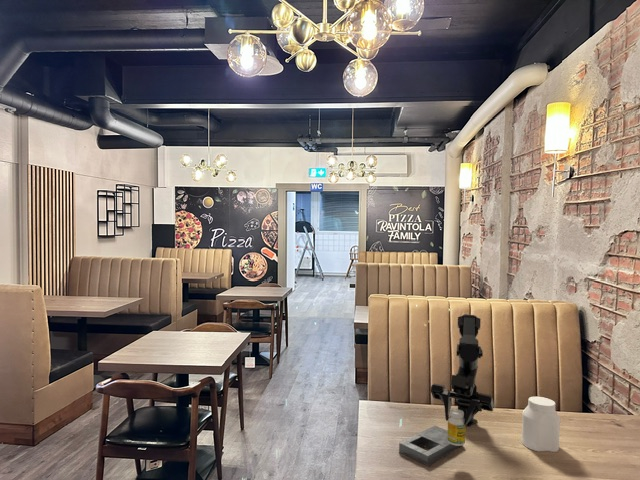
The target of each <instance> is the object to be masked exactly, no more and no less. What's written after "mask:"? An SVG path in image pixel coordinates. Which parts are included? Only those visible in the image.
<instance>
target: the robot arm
mask: <svg viewBox="0 0 640 480" xmlns="http://www.w3.org/2000/svg"><path fill="white" fill-rule="evenodd" d="M481 320H482V319H481V318H480V317H478V316H477V315H475V314H467V313H466V314H465V313H464V314H462V315H459V316H458V317H457V329H458V330H459V335H460V338H459V340H458V341H459V343H457V344H456V356H457V357H458V364H459V366H458V368H457V369H458V370H457V373H456V375H455V374H451V378H450V386H451V389H452V390H449V389H447V388H446V387H445V385H444V384H438V383H433V384H432V385H431V386H430V389H429V390H430V393H431V396H432V398H433V399H435V400H439V401H441V403H442V404H443V406H444V414H445V415H444V416H445V421H446V422H448V418H449V417H450V411H451V410H452V409H451V408H452V402H451V399H454V403H453V405H454V406H455V407H456V406H457V409H458V410H462V411H463V412H464V417H463V418H464V419H465V422H464V425H465V426H466V427H467V426H468V427H470V426H472V425H474V424H476V423H478V419H476V418H475V415H477V414H478V413H479V412H482V411H483V410H484V411H487V412H488V411H489V412H493V411H494V405H495V402H494V398H493V396H492V395H491V394H487V393H482V392H478V391H477V390H478V389H477V385H476V378H477V373H478V369H479V359H481V358H483V354H484V353H483V349H482V346H480V344H479V339H477V337H478V335H479V331H481V324H482V323H481Z"/></svg>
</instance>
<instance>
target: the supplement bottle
mask: <svg viewBox="0 0 640 480" xmlns="http://www.w3.org/2000/svg"><path fill="white" fill-rule="evenodd" d="M463 417H464V412H463V411H462V410H458V408H453V409H450V414H449V418H448V421H447V430H448V435H447V440H448V442H449V443H450V444H452V445H456V446H461V447H463V446H464V445H465V444H466V434H467V433H466V429H467V425H466V426H465V425H464V422H465V419H464V418H463ZM462 445H463V446H462Z"/></svg>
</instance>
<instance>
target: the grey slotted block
mask: <svg viewBox="0 0 640 480" xmlns="http://www.w3.org/2000/svg"><path fill="white" fill-rule="evenodd" d="M447 435H448V429H444V428H443V427H440V426H437V425H433V426H431V427H429V428H426V429H425V430H423V431H421V432H419V433H417V434H414V435H412V436H411V437H408V438H406V439H405V440H402V441H400V442H399V444H398V453H400V454H403V455H405V456H407V457H409V458H411V459H413V460H415V461H417V462H419V463H421V464H424V465H426V466H430V465H432V464H433V463H435V462H437V461H439V460H440V459H442V458H445V456H447V455H449V454H450V453H453V452H454V451H456V450H458V449H459V448H461V447H463V446H464V445H462V446H456V445H452V444H450V443H449V442H448V440H447ZM421 446H423V447H424V448H427V449H428V450H426V449H424V448H422V447H421Z"/></svg>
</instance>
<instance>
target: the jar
mask: <svg viewBox="0 0 640 480" xmlns="http://www.w3.org/2000/svg"><path fill="white" fill-rule="evenodd" d="M521 416H522V422H521V423H522V424H521V425H522V427H521V441H520V442H521V443H522V445H523V446H525V447H526V448H527V449H530V450H532V451H535V452H552V453H557V452H558V451H559V450H560V430H561V427H560V426H561V417H560V416H559V414H558V412H557V411H556V402H555V401H554V400H552V399H550V398H546V397H543V396H530V397H529V398H528V403H527V406H526V407H525V408H524V409H523V411H522V415H521Z"/></svg>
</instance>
